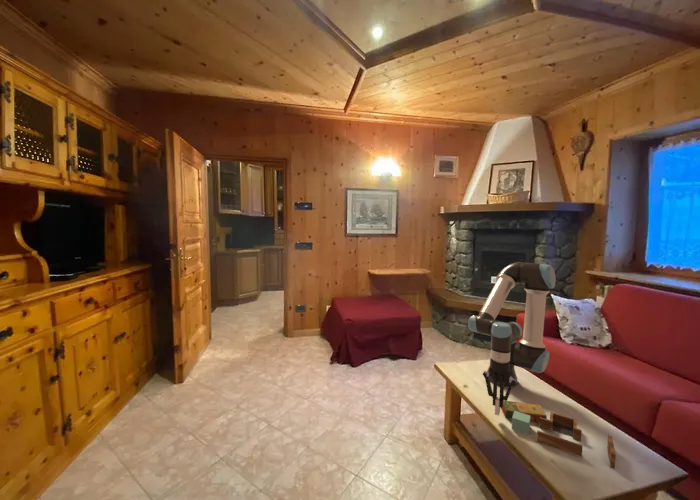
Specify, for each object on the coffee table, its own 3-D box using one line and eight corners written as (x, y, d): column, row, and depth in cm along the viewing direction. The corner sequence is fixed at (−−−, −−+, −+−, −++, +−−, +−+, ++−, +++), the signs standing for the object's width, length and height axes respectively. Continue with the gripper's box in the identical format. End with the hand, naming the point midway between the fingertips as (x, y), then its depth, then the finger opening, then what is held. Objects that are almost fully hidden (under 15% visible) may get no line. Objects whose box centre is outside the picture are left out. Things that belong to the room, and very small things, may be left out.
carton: (546, 424, 131) (547, 415, 130) (505, 419, 134) (505, 409, 134) (539, 413, 139) (539, 404, 138) (500, 408, 142) (501, 399, 142)
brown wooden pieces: (540, 417, 135) (541, 406, 134) (609, 439, 121) (610, 426, 121) (536, 441, 120) (537, 429, 119) (614, 469, 106) (615, 455, 106)
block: (513, 421, 132) (514, 410, 132) (530, 427, 129) (530, 415, 128) (511, 429, 127) (512, 417, 127) (528, 435, 124) (529, 423, 123)
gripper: (481, 358, 132) (479, 412, 133) (515, 367, 124) (512, 423, 126) (485, 353, 138) (483, 404, 140) (518, 360, 130) (515, 414, 132)
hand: (497, 413), depth 133 cm, fingers closed
